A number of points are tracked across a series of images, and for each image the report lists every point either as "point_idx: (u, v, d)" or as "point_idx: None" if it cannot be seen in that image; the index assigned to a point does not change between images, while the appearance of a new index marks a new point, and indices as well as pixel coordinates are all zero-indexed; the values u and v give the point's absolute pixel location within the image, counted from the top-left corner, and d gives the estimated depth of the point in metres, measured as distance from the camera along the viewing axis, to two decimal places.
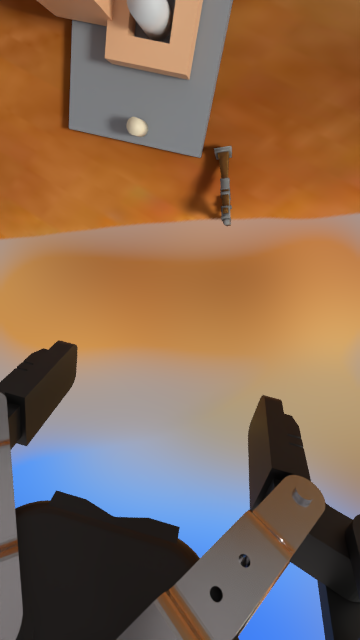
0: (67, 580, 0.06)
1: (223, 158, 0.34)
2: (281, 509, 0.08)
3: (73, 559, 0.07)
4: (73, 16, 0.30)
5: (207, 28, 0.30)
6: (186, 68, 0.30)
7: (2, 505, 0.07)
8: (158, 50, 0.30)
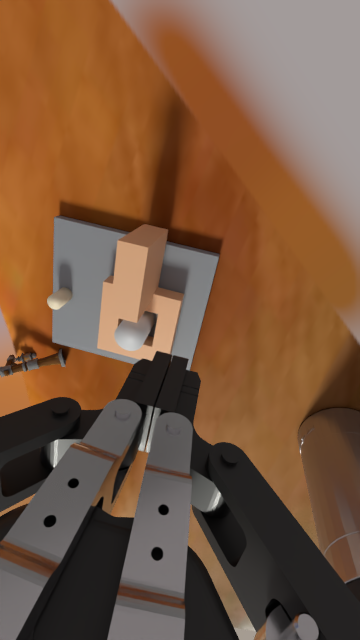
0: (67, 579, 0.06)
1: (55, 361, 0.40)
2: (165, 448, 0.09)
3: (73, 559, 0.07)
4: None
5: None
6: (101, 348, 0.36)
7: (71, 518, 0.07)
8: (111, 328, 0.34)
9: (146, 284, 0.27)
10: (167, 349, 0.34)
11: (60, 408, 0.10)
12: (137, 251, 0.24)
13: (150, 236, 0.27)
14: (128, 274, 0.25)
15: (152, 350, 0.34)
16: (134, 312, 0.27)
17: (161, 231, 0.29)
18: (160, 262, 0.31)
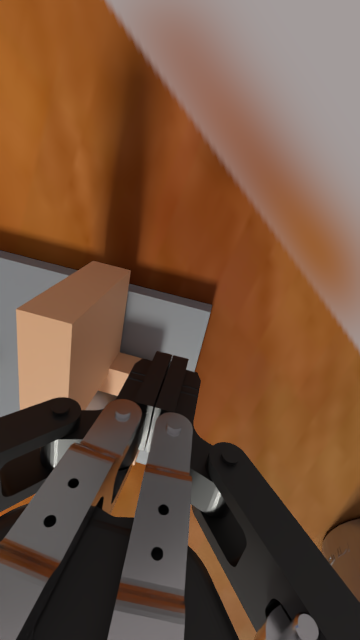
0: (67, 579, 0.06)
1: None
2: (165, 448, 0.09)
3: (73, 559, 0.07)
4: None
5: None
6: None
7: (71, 518, 0.07)
8: None
9: (82, 373, 0.16)
10: None
11: (60, 408, 0.10)
12: (53, 329, 0.13)
13: (91, 290, 0.16)
14: (42, 366, 0.14)
15: None
16: None
17: (116, 275, 0.18)
18: (118, 321, 0.20)
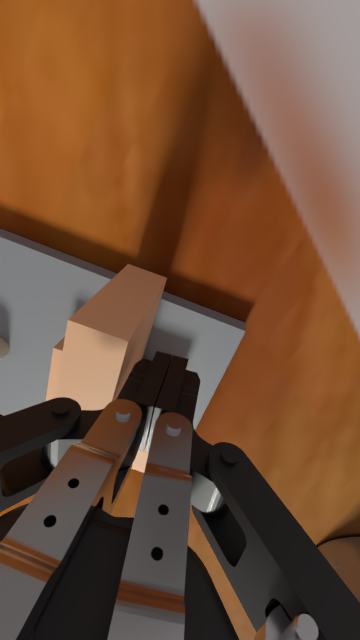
0: (67, 580, 0.06)
1: None
2: (165, 448, 0.09)
3: (73, 559, 0.07)
4: None
5: None
6: None
7: (71, 518, 0.07)
8: None
9: (120, 387, 0.15)
10: None
11: (60, 408, 0.10)
12: (106, 344, 0.12)
13: (135, 300, 0.15)
14: (85, 380, 0.13)
15: None
16: None
17: (155, 283, 0.17)
18: (149, 329, 0.19)
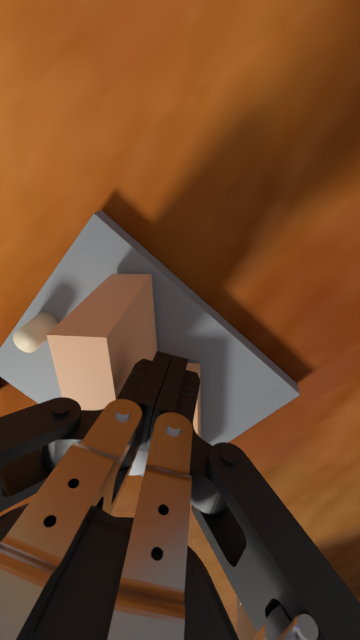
0: (67, 579, 0.06)
1: None
2: (165, 448, 0.09)
3: (73, 559, 0.07)
4: None
5: None
6: None
7: (71, 518, 0.07)
8: None
9: None
10: None
11: (60, 408, 0.10)
12: (88, 347, 0.12)
13: (117, 301, 0.15)
14: (85, 389, 0.13)
15: None
16: None
17: (138, 282, 0.17)
18: (150, 329, 0.19)
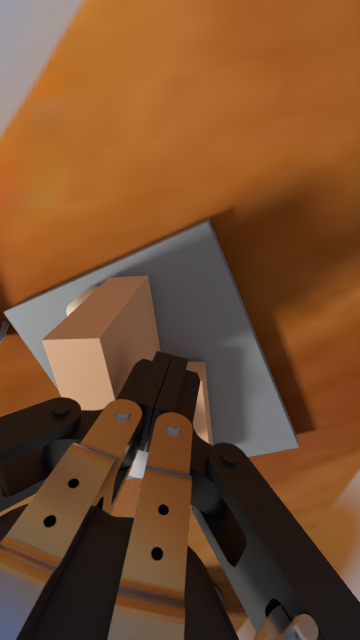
0: (67, 580, 0.06)
1: None
2: (165, 448, 0.09)
3: (73, 559, 0.07)
4: None
5: None
6: None
7: (72, 518, 0.07)
8: None
9: None
10: None
11: (60, 409, 0.10)
12: (83, 349, 0.12)
13: (112, 303, 0.15)
14: (84, 391, 0.13)
15: None
16: None
17: (135, 283, 0.17)
18: (150, 329, 0.19)
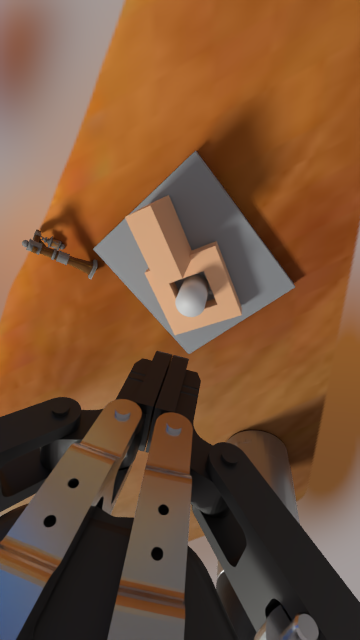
0: (67, 580, 0.06)
1: (85, 268, 0.37)
2: (165, 448, 0.09)
3: (73, 559, 0.07)
4: None
5: None
6: (178, 333, 0.37)
7: (71, 518, 0.07)
8: (175, 310, 0.36)
9: (171, 242, 0.28)
10: (231, 298, 0.34)
11: (60, 408, 0.10)
12: (144, 214, 0.26)
13: (152, 203, 0.29)
14: (149, 240, 0.27)
15: (220, 307, 0.34)
16: (174, 270, 0.28)
17: None
18: (178, 225, 0.32)
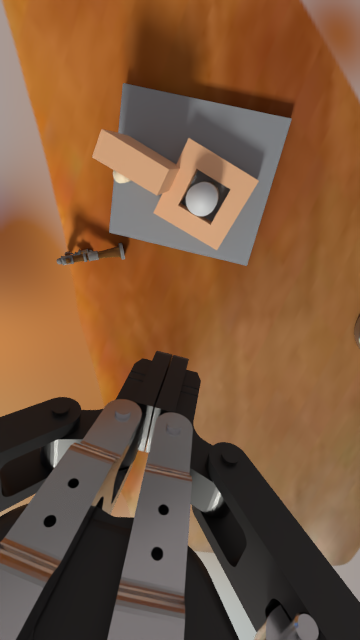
0: (67, 579, 0.06)
1: (115, 253, 0.40)
2: (165, 448, 0.09)
3: (73, 559, 0.07)
4: None
5: (197, 239, 0.38)
6: (218, 246, 0.35)
7: (71, 518, 0.07)
8: (200, 225, 0.35)
9: (142, 151, 0.29)
10: (237, 172, 0.32)
11: (60, 408, 0.10)
12: (103, 141, 0.27)
13: None
14: (122, 159, 0.28)
15: (234, 190, 0.32)
16: (158, 167, 0.28)
17: None
18: (150, 150, 0.33)
